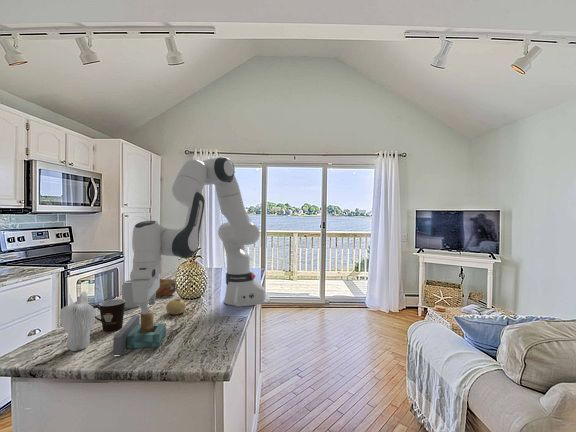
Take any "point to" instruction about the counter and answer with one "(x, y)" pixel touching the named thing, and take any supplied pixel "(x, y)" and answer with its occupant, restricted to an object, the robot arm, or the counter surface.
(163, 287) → the tin
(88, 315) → the shell sculpture
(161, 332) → the block
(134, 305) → the can
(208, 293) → the counter surface
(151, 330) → the dowel
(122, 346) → the wall
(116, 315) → the coffee mug
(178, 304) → the onion
